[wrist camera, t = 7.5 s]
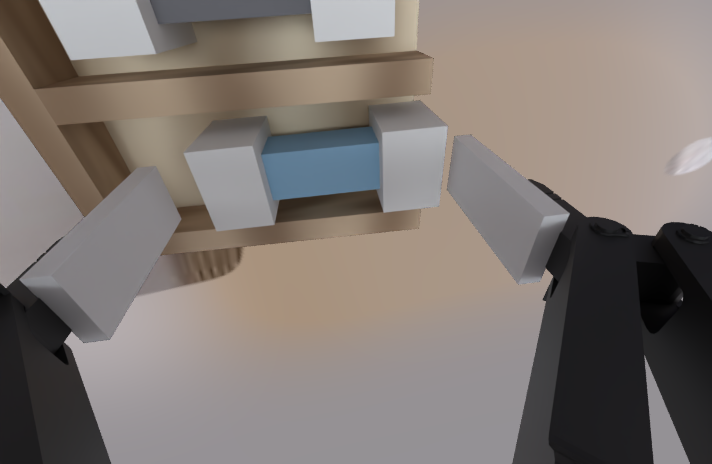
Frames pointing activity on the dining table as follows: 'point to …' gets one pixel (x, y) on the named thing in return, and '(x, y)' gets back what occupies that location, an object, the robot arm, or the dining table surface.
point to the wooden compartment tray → (207, 111)
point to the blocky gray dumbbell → (198, 3)
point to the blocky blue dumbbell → (318, 164)
